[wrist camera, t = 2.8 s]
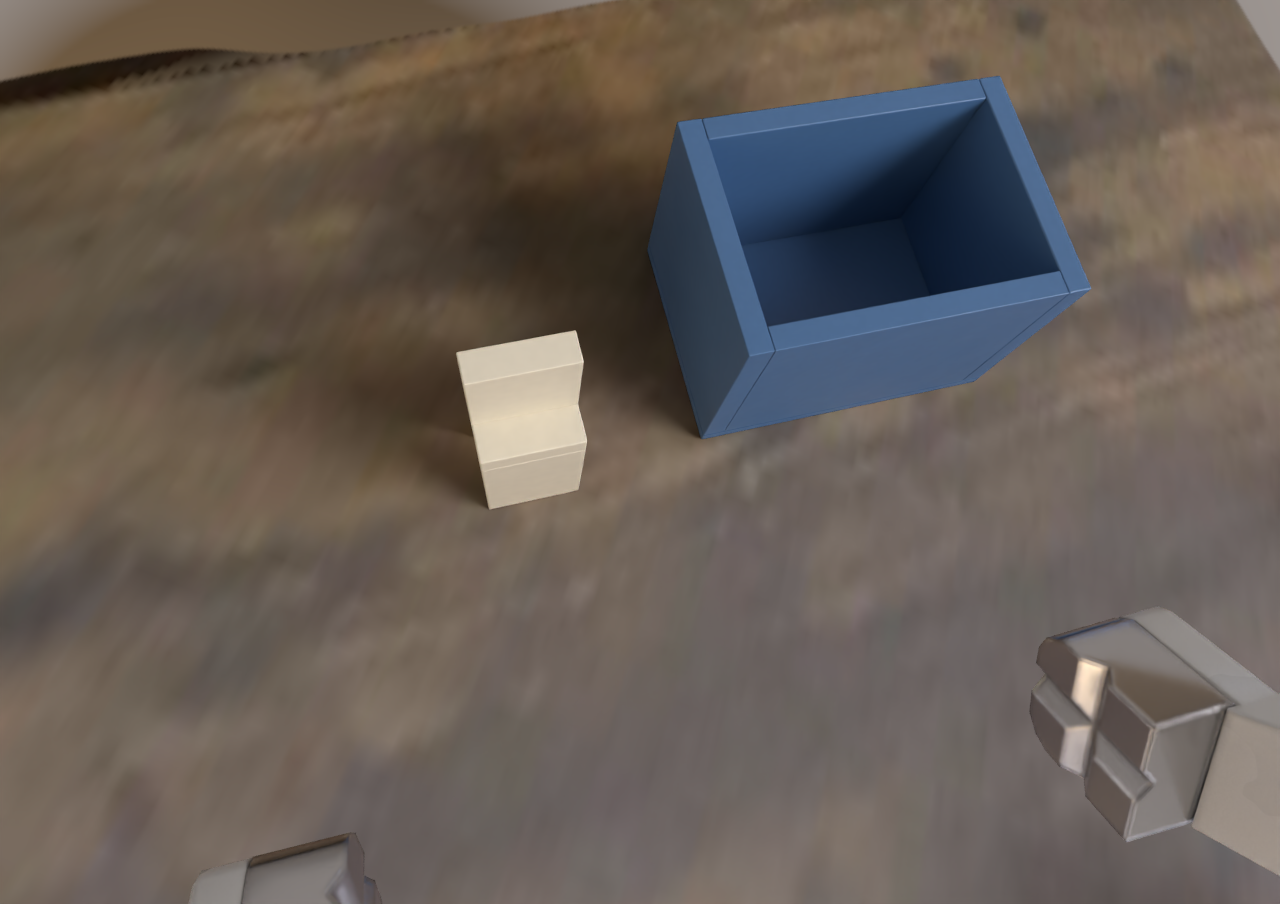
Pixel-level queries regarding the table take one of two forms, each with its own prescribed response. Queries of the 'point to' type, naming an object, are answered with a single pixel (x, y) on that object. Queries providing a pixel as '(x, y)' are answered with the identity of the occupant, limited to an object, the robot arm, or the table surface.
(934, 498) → the table surface
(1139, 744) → the robot arm
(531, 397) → the cream l-shaped step block
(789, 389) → the box
